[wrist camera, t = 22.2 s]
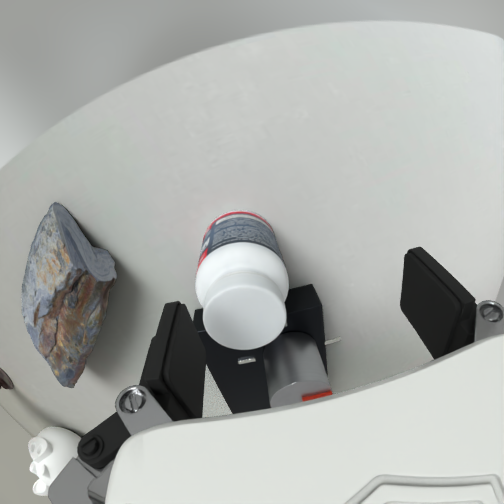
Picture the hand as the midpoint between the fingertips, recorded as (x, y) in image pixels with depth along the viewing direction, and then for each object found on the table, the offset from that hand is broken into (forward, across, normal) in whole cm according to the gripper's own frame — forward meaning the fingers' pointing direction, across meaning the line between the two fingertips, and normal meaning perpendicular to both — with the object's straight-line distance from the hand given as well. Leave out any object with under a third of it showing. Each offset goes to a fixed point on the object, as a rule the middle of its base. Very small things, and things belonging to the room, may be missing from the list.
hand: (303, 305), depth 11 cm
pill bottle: (+10, +3, +2) cm, 11 cm away
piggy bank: (+9, +41, +29) cm, 51 cm away
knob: (+7, +1, +10) cm, 13 cm away
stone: (+10, +20, +2) cm, 22 cm away
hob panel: (+10, +3, +13) cm, 17 cm away
